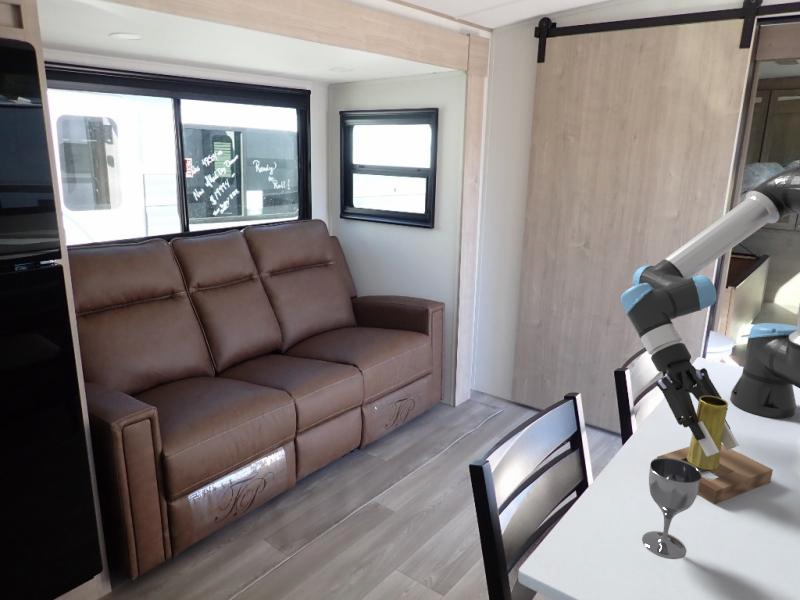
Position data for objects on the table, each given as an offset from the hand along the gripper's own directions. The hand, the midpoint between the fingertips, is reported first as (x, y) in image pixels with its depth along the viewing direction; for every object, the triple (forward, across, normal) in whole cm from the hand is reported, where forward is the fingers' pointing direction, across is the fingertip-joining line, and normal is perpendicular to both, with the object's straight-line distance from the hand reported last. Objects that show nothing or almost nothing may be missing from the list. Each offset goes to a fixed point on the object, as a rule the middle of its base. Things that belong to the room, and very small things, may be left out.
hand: (723, 450), depth 116 cm
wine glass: (+12, +25, -1) cm, 27 cm away
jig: (+4, -3, -8) cm, 10 cm away
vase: (+1, 0, -6) cm, 6 cm away
